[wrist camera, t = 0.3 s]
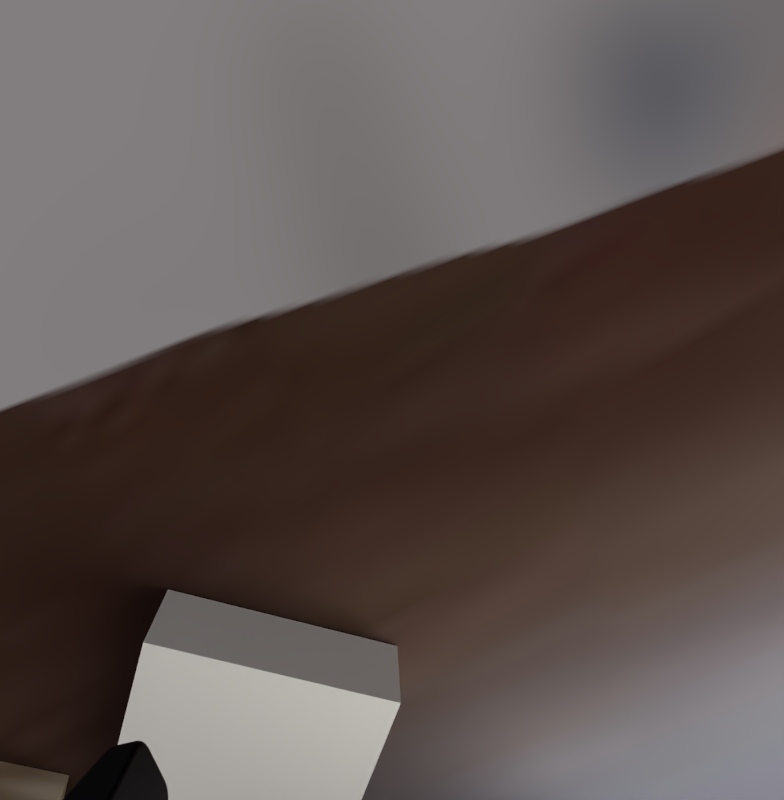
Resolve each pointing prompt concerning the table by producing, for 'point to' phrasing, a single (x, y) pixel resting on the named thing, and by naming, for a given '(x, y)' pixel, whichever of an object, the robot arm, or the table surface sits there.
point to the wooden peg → (30, 783)
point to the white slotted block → (259, 704)
